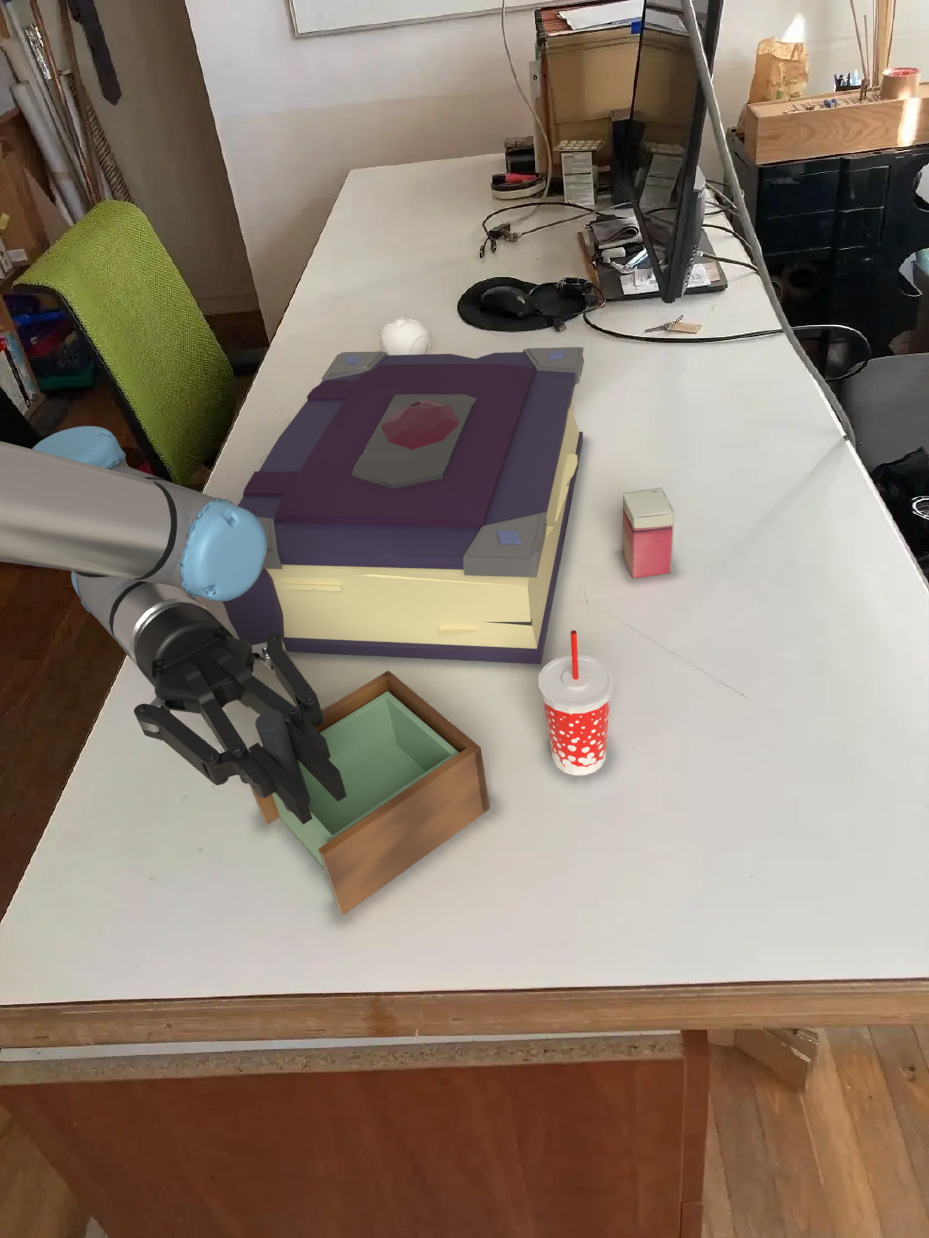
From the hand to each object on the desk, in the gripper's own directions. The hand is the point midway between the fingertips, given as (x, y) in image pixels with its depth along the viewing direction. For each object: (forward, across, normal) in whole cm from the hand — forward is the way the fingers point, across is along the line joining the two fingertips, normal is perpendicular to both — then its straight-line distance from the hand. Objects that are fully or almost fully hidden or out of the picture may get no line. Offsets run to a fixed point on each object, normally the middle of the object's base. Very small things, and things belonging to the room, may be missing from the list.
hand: (321, 797), depth 64 cm
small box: (-13, -47, -12) cm, 50 cm away
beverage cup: (+2, -22, -12) cm, 26 cm away
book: (-36, -34, -12) cm, 51 cm away
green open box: (-6, -6, -12) cm, 14 cm away
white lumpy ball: (-76, -61, -12) cm, 98 cm away
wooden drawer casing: (-6, -6, -12) cm, 14 cm away
